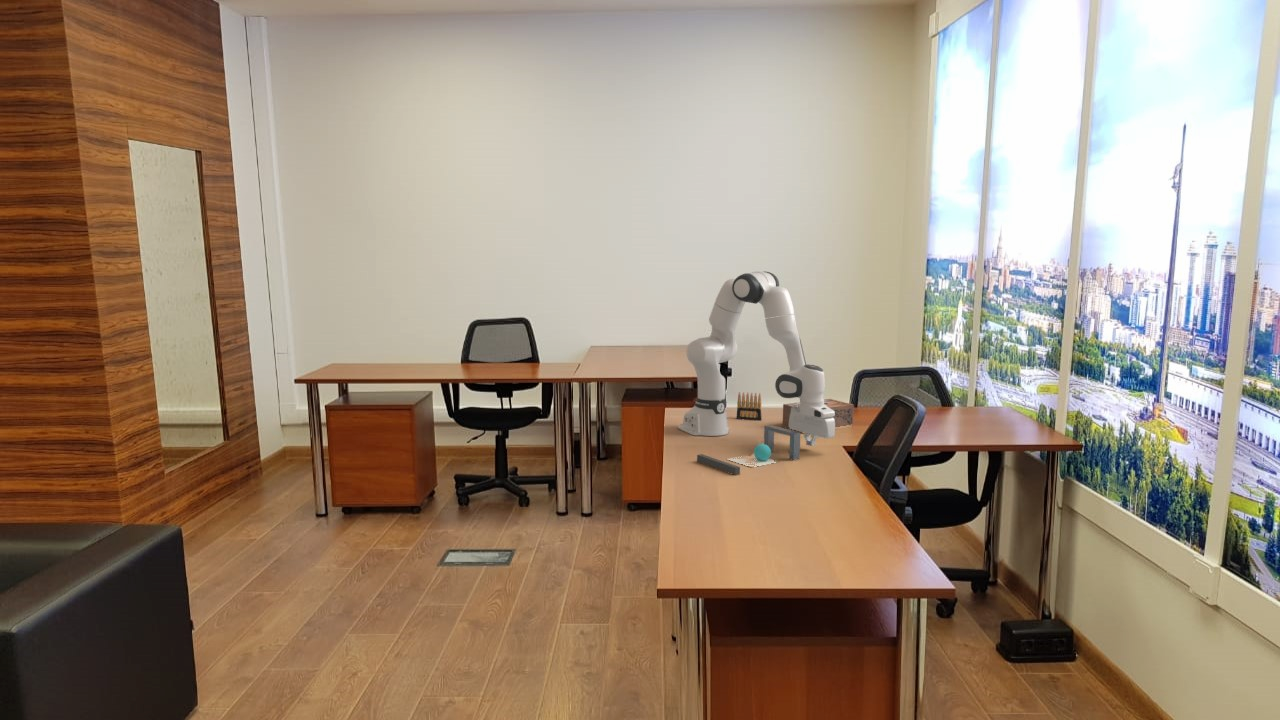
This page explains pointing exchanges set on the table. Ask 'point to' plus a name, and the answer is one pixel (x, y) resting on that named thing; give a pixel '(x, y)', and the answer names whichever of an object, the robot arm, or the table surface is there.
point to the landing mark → (759, 463)
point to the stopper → (718, 464)
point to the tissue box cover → (841, 409)
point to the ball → (762, 452)
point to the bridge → (793, 435)
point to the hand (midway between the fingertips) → (810, 445)
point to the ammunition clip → (747, 411)
